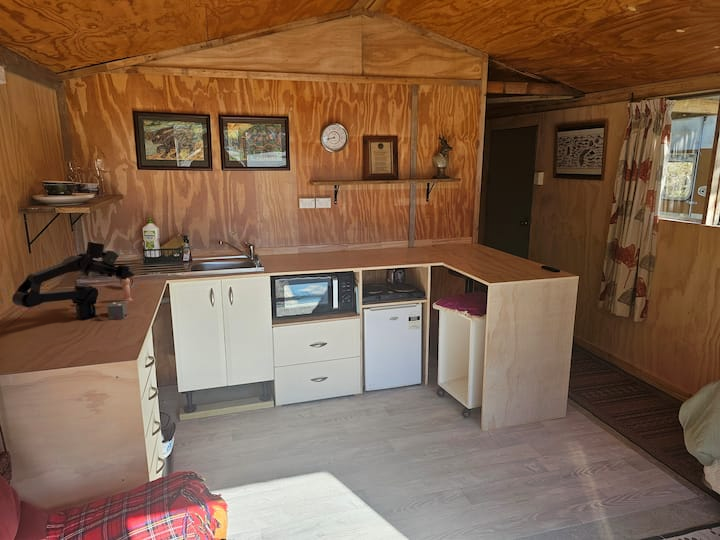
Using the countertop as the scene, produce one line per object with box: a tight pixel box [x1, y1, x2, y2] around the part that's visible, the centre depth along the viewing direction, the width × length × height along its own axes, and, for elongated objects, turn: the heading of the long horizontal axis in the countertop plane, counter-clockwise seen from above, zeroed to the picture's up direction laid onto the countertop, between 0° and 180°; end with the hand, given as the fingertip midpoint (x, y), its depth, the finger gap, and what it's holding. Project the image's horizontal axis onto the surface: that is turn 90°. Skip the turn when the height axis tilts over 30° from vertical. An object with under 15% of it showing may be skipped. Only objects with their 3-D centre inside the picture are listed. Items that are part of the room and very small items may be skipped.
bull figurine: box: [118, 276, 135, 289], centre depth 270 cm, size 4×13×8 cm, turn 51°
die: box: [106, 301, 128, 321], centre depth 219 cm, size 6×6×6 cm
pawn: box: [121, 278, 133, 302], centre depth 240 cm, size 4×4×11 cm
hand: (127, 273), depth 236 cm, fingers open, 9 cm apart
